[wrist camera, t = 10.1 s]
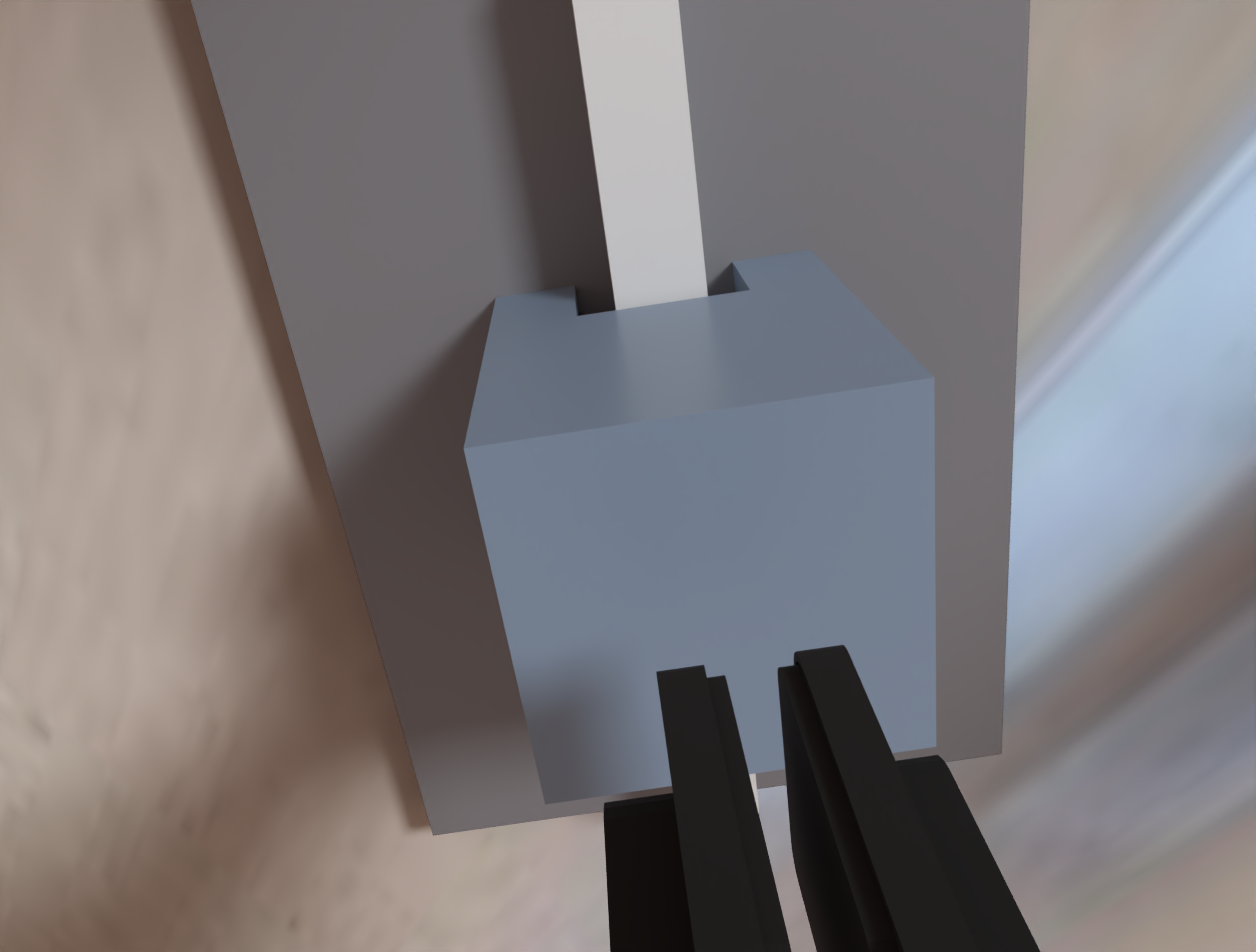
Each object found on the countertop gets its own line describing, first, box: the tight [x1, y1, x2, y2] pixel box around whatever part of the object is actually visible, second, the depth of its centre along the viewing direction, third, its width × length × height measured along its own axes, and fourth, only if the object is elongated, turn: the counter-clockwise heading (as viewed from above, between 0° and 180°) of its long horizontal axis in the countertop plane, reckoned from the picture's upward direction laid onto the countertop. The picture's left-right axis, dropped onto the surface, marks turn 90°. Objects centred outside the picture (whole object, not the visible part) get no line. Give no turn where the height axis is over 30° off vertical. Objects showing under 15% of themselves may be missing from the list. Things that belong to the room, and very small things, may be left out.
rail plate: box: [191, 0, 1030, 835], centre depth 20 cm, size 20×14×3 cm
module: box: [464, 250, 936, 805], centre depth 17 cm, size 6×6×7 cm
